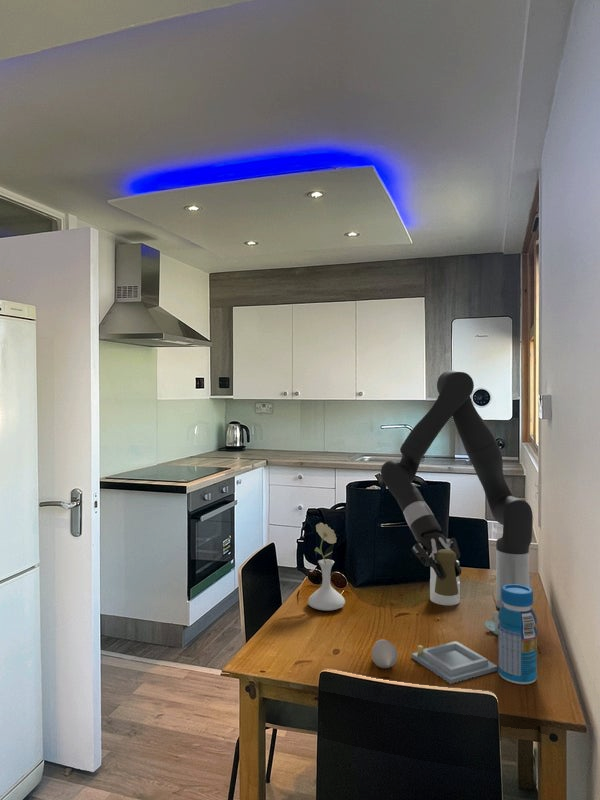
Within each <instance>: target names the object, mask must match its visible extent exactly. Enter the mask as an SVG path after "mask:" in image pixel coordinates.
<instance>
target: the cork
mask: <svg viewBox="0 0 600 800" xmlns="http://www.w3.org/2000/svg"><path fill="white" fill-rule="evenodd" d="M436 558H437V560H438V563H440V565H441V566H442V568H443V570H444V572H445V574H446V577H445V578H444V579H443V580H440V578H438V577H437V576H436V585H435V593H437V594H439V595H444V596H454V595H457V594H458V587H457V580H456V573H455V566H454V563H455V561H456V554H455V552H454V551H452V550H448V549H441V550H439V551H437V554H436Z"/></svg>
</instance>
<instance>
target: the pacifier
mask: <svg viewBox="0 0 600 800" xmlns="http://www.w3.org/2000/svg"><path fill="white" fill-rule="evenodd" d="M499 611H500V610H499ZM499 611H498V610H494V611H493V612H492V617H493V618H492V619H494V621H493V620H486V621H485V622H484V625H485V628H486V629H488V630H489V631H490V632H492V633H493V634H495V635H496V636H498V630H497V628H498V624H499V622H500V621H499V619H498V614H499Z"/></svg>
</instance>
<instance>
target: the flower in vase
mask: <svg viewBox="0 0 600 800" xmlns="http://www.w3.org/2000/svg"><path fill="white" fill-rule="evenodd" d="M315 531H316V533H318V535H319V536H320V538H321V542H320V546H319V547H318V546H316V547H315V549H314V550H313V551H314V552H316V553H318V554H319V555H321V556H322V559H319V560H317V564H319V566H320V568H321V573H322V574H321V575H322V582H321V585H320V587H319V588H318V589H317V590H315V591H314V592H313V593H312V594H311V595H310V596H309V597H308V599H307V604H308V605H309V607H311V608H313V609H315V610H319V611H327V612H328V611H335V610H338V609H341V608H343V607H344V605H345V604H346V600H345V597H344V596H343V595H342V594H341V593H339V592H338V590H336V589H335V588H334V587H332V585H331V572H332V571H331V570H332V567H333V565H334V564H335V561H334V560H333V559H329V558H327V559H326V557H328V556H330V555H331V554H332V553H333V550H332V551H331V552H328V553H326V554H325V555H324V553H323V551H322V545H323V542H327V543H328V544H331V545H332V544H335V543H337V539H338V538H337V537H336V536H337V535H336V533H335V530H334V529H331V527H330V526H328V524H326V523H325V524H324V523H323V522H319V523H317V524H316V525H315Z"/></svg>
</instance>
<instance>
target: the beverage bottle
mask: <svg viewBox="0 0 600 800" xmlns="http://www.w3.org/2000/svg"><path fill="white" fill-rule="evenodd" d="M533 591H534V590H533V589H532V588H531V589H530V588H529V587H526V586H523V585H517V584H508V585H504V586H503V587H502V589H501V599H502V602H503V603H504V605H503V606H502V607H501V609H500V608H499V614H498V619H499V621H500V622H499V624H498V628H497V630H498V635H497V637H498V638H497V639H498V641H497V645H498V647H497V649H498V650H497V651H498V653H497V654H498V658H497V659H498V661H497V662H498V665H497V666H498V671H497V672H498V674H499V676H500V678H502V679H503V680H505V681H506V682H510V683H512V684H515V685H530V684H533V683H534V682H536V681H537V677H538V674H537V672H538V671H537V670H538V669H537V663H538V662H537V654H538V653H537V650H538V649H537V646H538V644H537V641H538V640H537V639H538V629H537V627H536V625H537V623H538V621H537V617H536V614H535V612H534V611H533V609H532V607H533V604H534V592H533Z"/></svg>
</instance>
